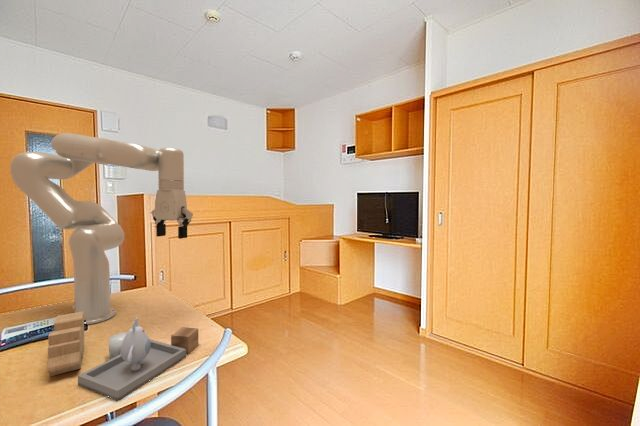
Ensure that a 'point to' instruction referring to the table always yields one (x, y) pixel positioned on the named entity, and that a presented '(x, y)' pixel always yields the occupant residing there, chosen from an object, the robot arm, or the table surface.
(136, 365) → the toy figure
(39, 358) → the table surface
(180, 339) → the walnut cube
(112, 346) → the pale grey egg shape
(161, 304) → the table surface
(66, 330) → the stepped wooden block
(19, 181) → the robot arm
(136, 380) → the tray
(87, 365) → the table surface
